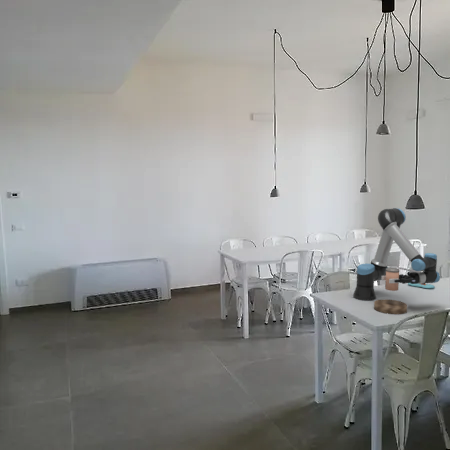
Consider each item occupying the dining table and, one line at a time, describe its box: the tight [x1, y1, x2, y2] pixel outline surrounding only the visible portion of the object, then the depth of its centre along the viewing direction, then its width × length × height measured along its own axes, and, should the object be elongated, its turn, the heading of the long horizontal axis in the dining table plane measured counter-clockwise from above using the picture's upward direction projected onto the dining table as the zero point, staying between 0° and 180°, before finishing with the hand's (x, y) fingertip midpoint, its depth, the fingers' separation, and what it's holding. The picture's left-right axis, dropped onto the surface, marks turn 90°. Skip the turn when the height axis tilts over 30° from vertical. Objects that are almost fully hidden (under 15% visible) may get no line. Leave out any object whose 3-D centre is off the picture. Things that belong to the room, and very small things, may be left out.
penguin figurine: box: [407, 268, 436, 289], centre depth 372 cm, size 20×11×15 cm, turn 43°
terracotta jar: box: [384, 267, 400, 292], centre depth 308 cm, size 8×8×13 cm
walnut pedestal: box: [373, 298, 408, 315], centre depth 310 cm, size 20×20×4 cm
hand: (385, 279), depth 307 cm, fingers closed on terracotta jar, 8 cm apart
